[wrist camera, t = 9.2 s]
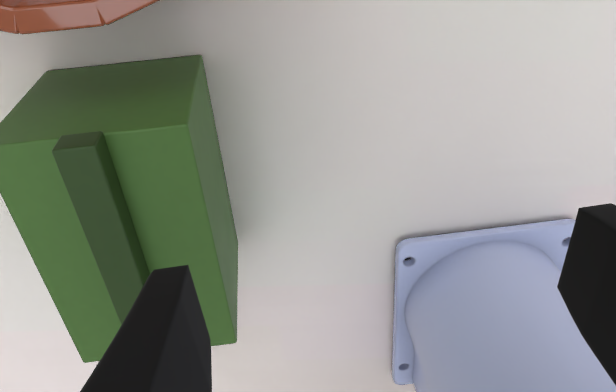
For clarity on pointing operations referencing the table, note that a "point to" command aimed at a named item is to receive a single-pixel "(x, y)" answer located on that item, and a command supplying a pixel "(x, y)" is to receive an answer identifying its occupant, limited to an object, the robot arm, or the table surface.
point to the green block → (121, 192)
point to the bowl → (63, 14)
